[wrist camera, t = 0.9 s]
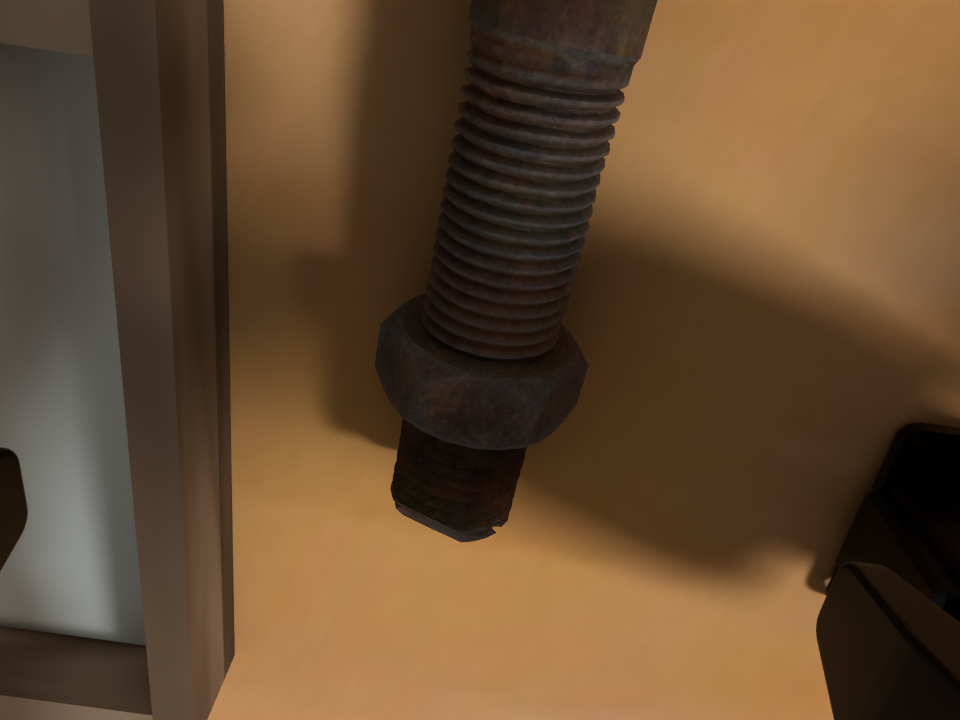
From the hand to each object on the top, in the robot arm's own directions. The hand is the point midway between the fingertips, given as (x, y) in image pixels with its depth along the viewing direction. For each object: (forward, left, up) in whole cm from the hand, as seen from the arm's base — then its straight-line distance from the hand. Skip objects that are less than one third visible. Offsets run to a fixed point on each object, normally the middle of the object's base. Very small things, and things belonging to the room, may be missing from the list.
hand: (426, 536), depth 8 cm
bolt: (-1, 0, -12) cm, 12 cm away
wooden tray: (+12, +6, -12) cm, 18 cm away
